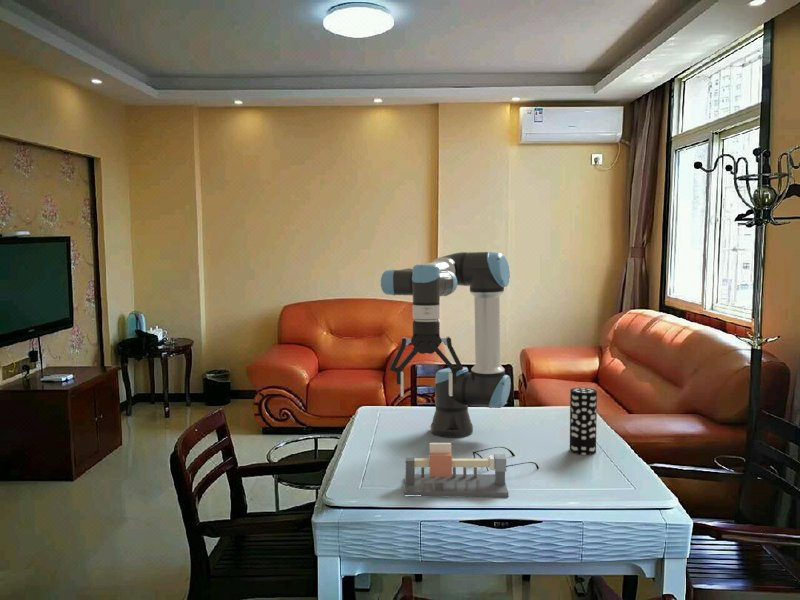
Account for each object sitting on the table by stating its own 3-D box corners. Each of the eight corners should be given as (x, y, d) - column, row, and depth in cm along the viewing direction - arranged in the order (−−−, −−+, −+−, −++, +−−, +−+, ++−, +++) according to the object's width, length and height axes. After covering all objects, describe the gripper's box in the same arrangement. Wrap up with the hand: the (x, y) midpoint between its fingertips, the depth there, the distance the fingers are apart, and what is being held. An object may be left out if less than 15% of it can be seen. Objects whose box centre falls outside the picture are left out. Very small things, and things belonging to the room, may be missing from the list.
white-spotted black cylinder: (597, 455, 211) (598, 393, 210) (570, 454, 213) (571, 392, 211) (594, 447, 219) (595, 388, 218) (569, 446, 221) (569, 387, 219)
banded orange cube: (429, 476, 182) (429, 446, 182) (429, 469, 188) (429, 440, 188) (451, 477, 182) (451, 446, 181) (451, 469, 188) (450, 440, 187)
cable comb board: (404, 496, 179) (403, 467, 178) (405, 478, 193) (405, 451, 192) (508, 496, 178) (508, 467, 177) (502, 478, 192) (502, 451, 191)
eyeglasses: (469, 462, 207) (469, 449, 207) (512, 455, 214) (512, 443, 213) (497, 479, 192) (497, 466, 192) (543, 471, 199) (543, 458, 198)
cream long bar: (408, 471, 184) (408, 458, 183) (408, 466, 187) (408, 454, 187) (506, 471, 182) (506, 458, 182) (504, 466, 186) (504, 454, 186)
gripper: (381, 321, 180) (381, 398, 182) (472, 321, 181) (472, 397, 182) (381, 319, 188) (381, 393, 189) (469, 318, 188) (468, 391, 190)
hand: (426, 395), depth 186 cm, fingers open, 13 cm apart
